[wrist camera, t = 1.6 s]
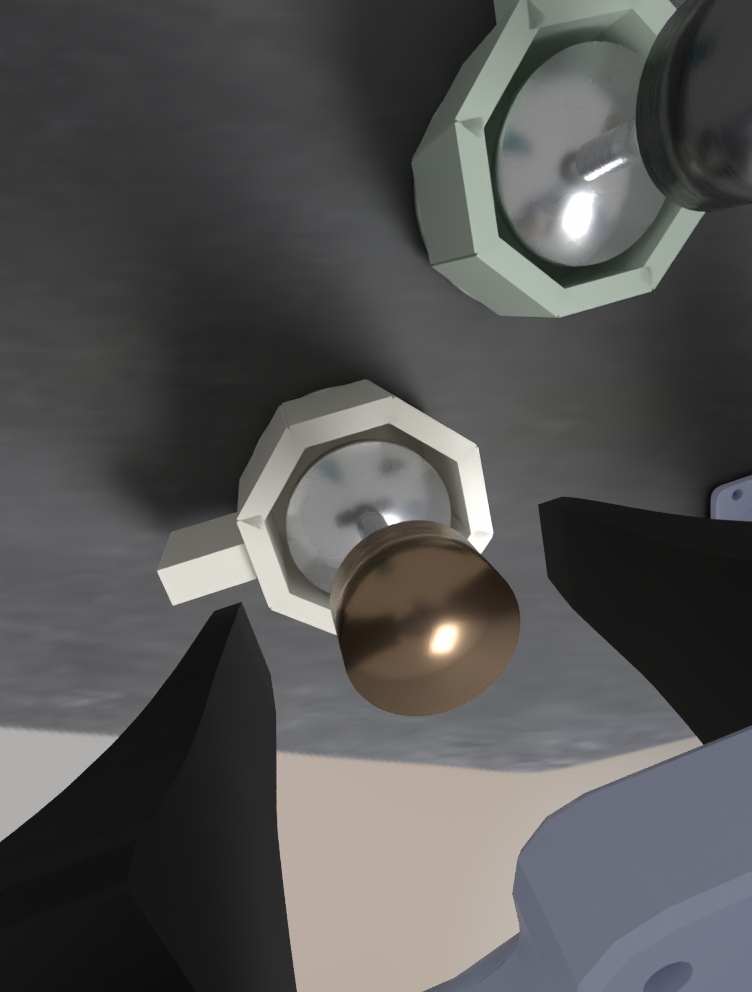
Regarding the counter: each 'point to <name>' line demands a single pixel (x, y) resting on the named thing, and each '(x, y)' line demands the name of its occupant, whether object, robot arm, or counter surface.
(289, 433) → the cream press pot
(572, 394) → the counter surface
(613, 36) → the sage press pot
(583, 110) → the sage press plunger
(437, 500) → the cream press plunger
